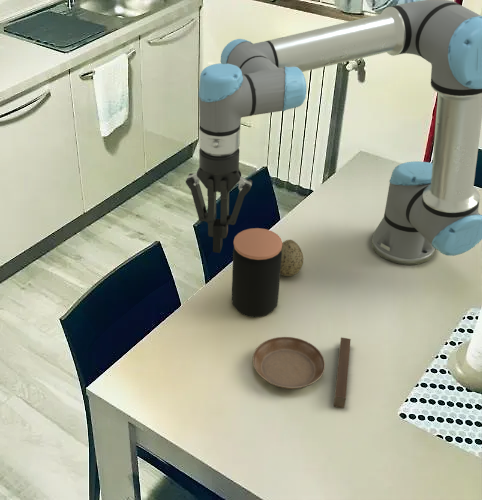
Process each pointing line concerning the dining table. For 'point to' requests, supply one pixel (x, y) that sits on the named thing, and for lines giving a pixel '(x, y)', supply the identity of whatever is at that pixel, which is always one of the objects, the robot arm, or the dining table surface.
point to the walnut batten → (342, 373)
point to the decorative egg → (291, 258)
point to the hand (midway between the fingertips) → (217, 248)
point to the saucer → (288, 362)
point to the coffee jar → (256, 271)
